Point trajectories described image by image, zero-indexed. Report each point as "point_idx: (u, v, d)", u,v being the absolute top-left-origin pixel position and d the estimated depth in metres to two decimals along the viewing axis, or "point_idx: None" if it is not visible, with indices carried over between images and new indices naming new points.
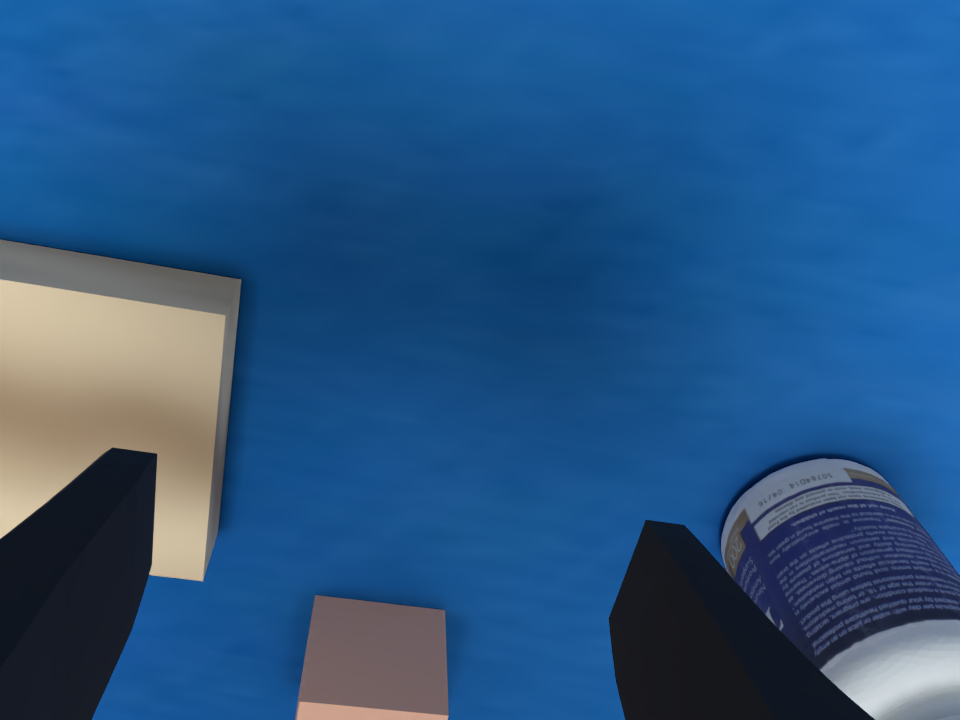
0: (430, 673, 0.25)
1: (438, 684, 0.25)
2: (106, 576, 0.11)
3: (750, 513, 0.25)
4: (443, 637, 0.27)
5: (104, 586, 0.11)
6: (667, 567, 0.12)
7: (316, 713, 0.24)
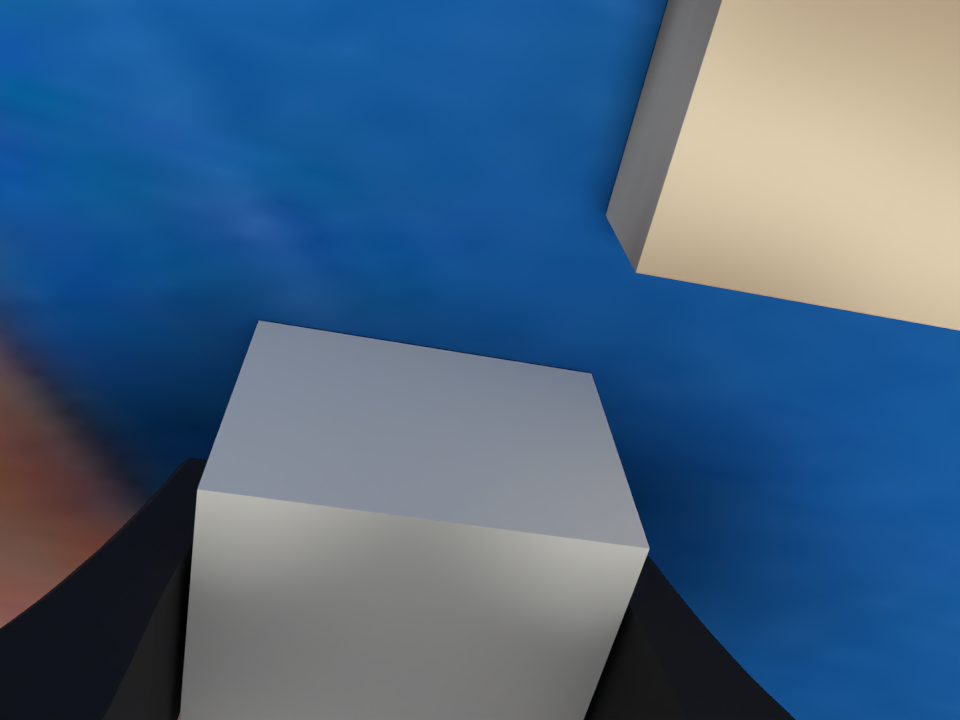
0: None
1: None
2: None
3: None
4: None
5: None
6: None
7: None
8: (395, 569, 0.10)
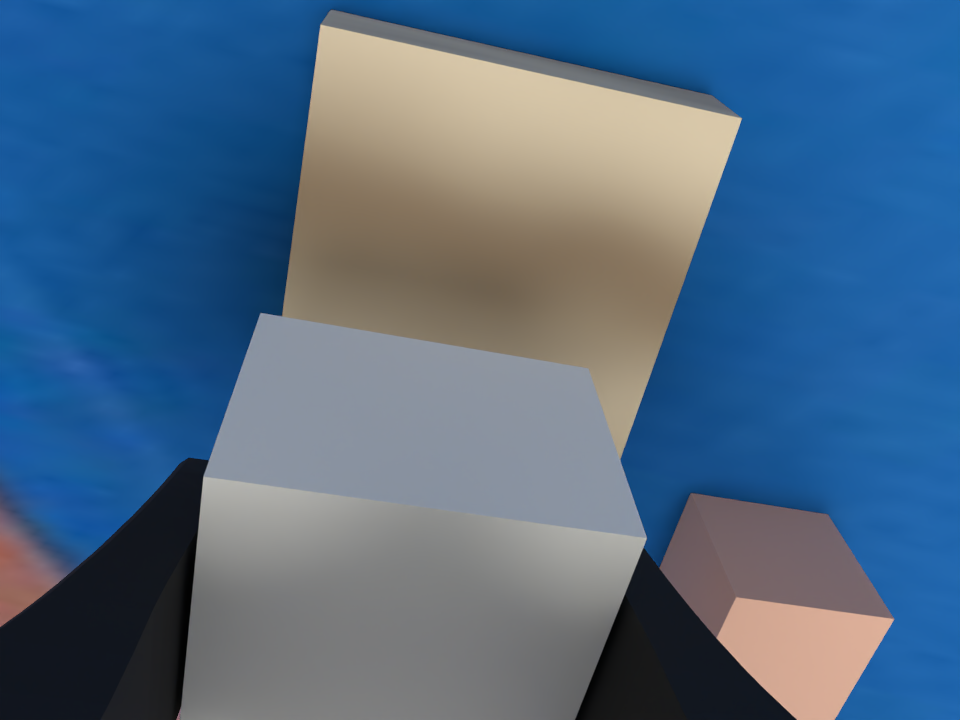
0: (850, 576, 0.22)
1: (865, 587, 0.22)
2: (192, 586, 0.11)
3: None
4: (842, 541, 0.23)
5: (191, 596, 0.11)
6: None
7: (750, 612, 0.21)
8: (396, 557, 0.10)
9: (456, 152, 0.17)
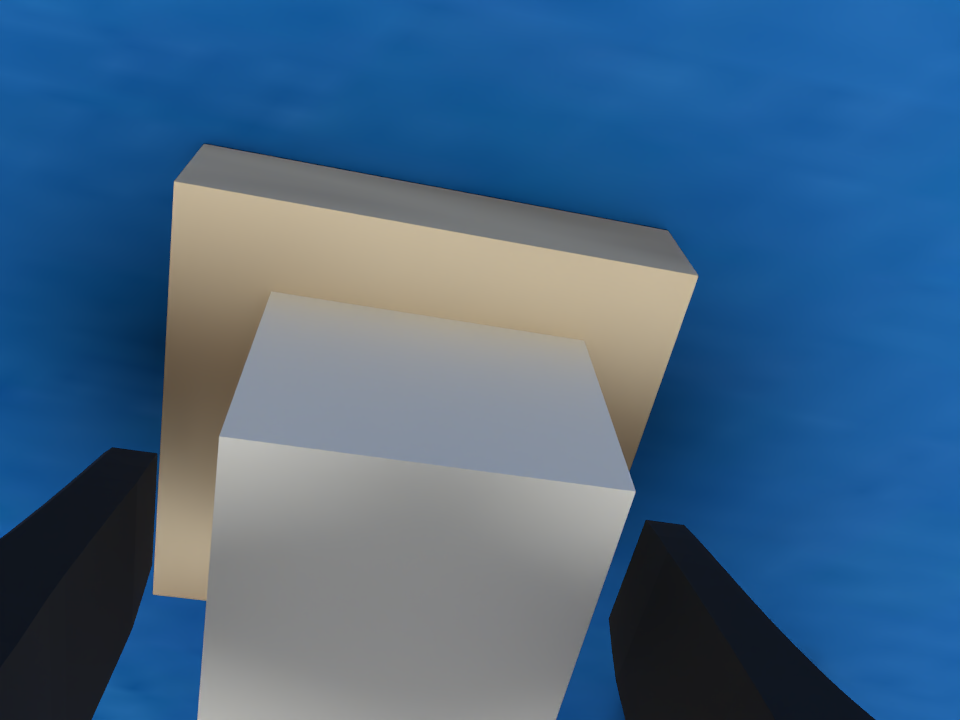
0: None
1: None
2: (106, 576, 0.11)
3: None
4: None
5: (105, 586, 0.11)
6: (667, 567, 0.12)
7: None
8: (400, 511, 0.11)
9: None
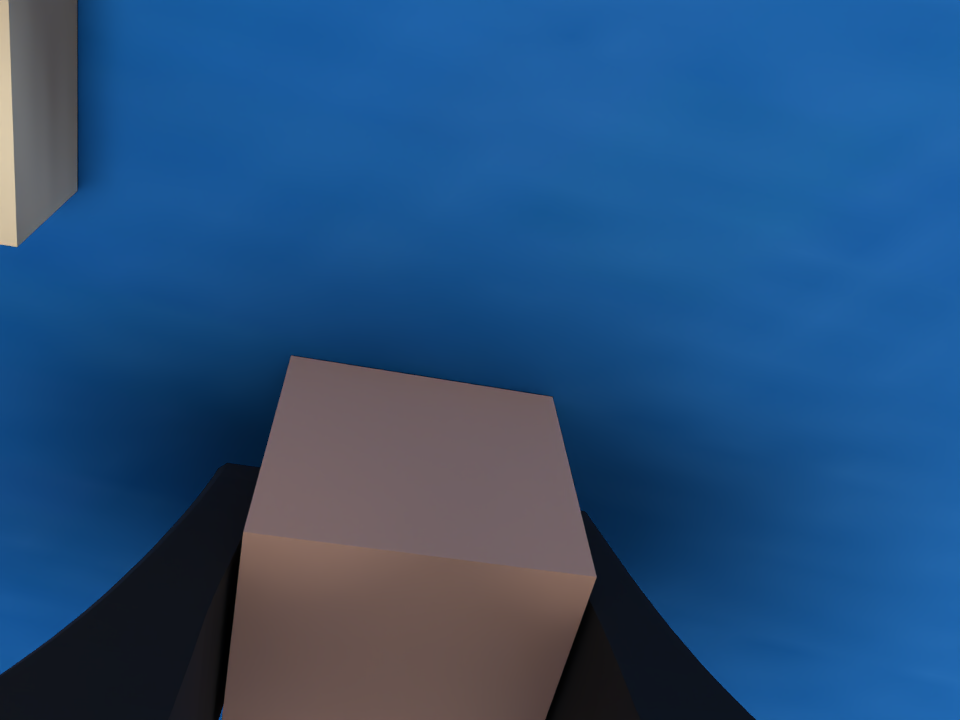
0: (541, 497, 0.11)
1: (562, 517, 0.11)
2: (236, 591, 0.11)
3: None
4: (557, 440, 0.13)
5: (234, 601, 0.11)
6: None
7: (285, 564, 0.10)
8: None
9: None
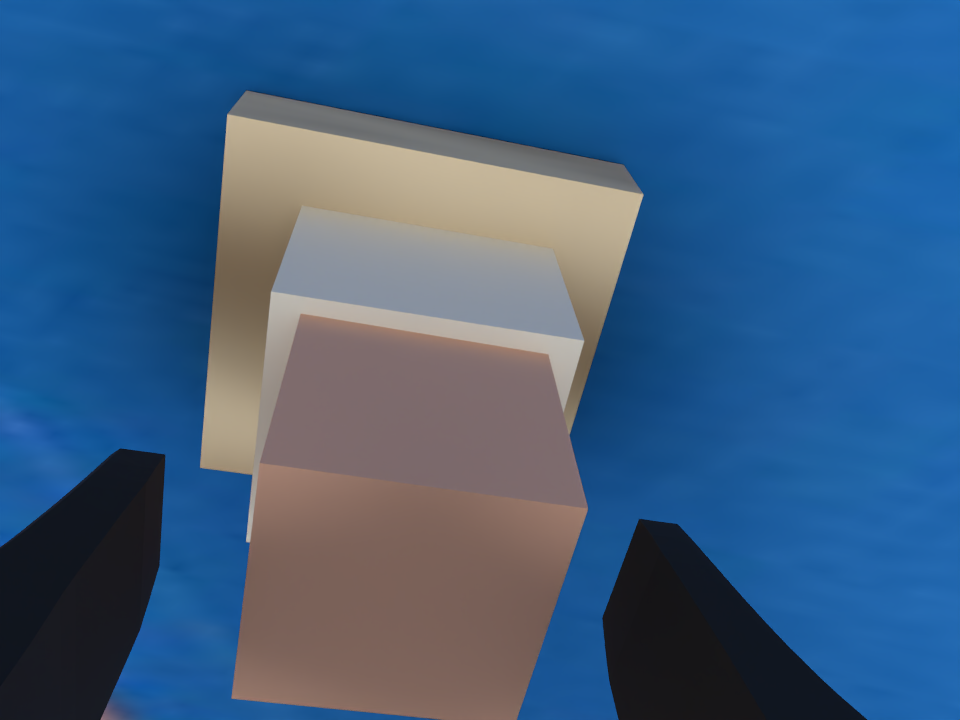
0: (537, 440, 0.12)
1: (556, 457, 0.12)
2: (115, 577, 0.11)
3: None
4: (553, 391, 0.13)
5: (114, 588, 0.11)
6: (660, 566, 0.12)
7: (298, 495, 0.11)
8: None
9: None
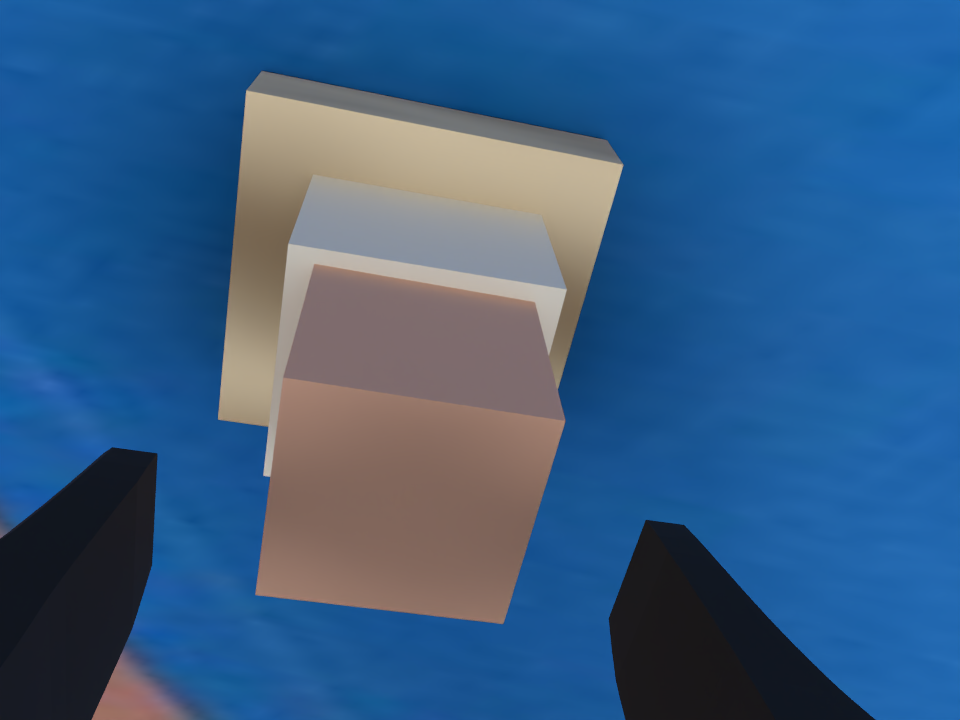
0: (523, 369, 0.14)
1: (539, 382, 0.14)
2: (106, 576, 0.11)
3: None
4: (538, 331, 0.15)
5: (105, 587, 0.11)
6: (667, 567, 0.12)
7: (315, 406, 0.12)
8: None
9: None
